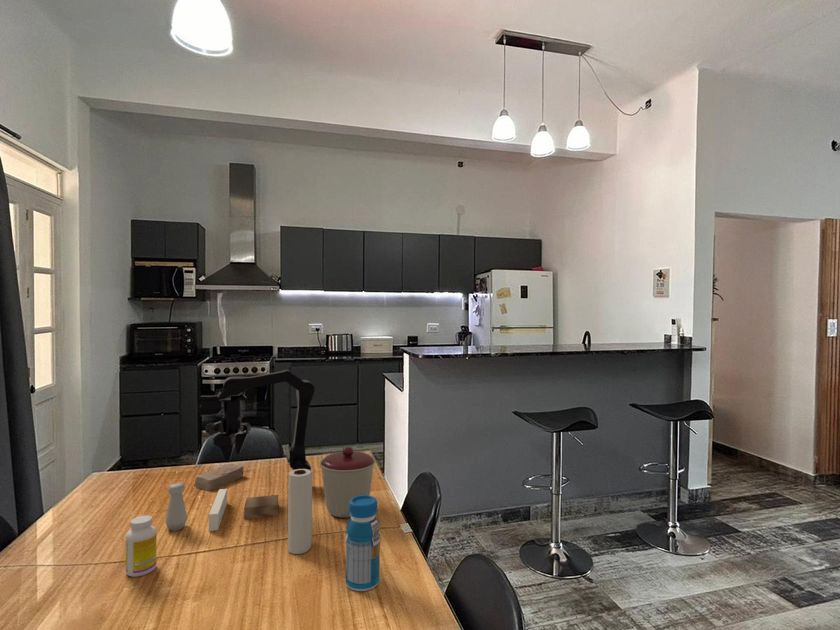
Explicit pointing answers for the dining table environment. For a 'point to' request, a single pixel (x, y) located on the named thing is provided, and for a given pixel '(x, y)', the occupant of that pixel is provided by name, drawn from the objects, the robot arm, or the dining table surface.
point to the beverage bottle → (362, 544)
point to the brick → (219, 476)
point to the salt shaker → (176, 508)
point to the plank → (217, 510)
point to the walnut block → (261, 507)
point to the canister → (345, 479)
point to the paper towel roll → (300, 511)
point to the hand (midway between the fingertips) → (233, 457)
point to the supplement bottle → (140, 547)
